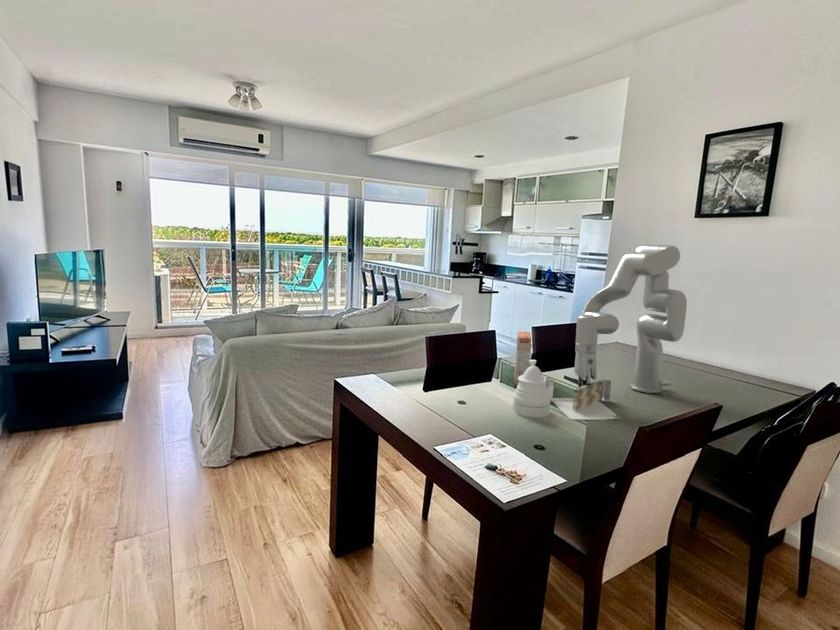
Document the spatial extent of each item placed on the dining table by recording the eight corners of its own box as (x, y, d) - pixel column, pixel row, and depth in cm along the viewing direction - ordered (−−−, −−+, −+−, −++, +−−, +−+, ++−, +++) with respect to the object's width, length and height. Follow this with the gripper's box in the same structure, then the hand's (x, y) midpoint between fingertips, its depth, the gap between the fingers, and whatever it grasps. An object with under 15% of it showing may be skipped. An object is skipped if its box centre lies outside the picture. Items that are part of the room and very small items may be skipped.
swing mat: (599, 402, 173) (599, 401, 173) (621, 419, 156) (621, 419, 156) (553, 402, 172) (553, 401, 172) (570, 420, 155) (570, 419, 155)
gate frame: (607, 399, 177) (609, 378, 175) (610, 402, 174) (612, 380, 172) (543, 399, 175) (544, 377, 174) (546, 402, 172) (547, 380, 171)
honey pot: (509, 403, 170) (512, 356, 167) (544, 404, 170) (547, 357, 167) (516, 416, 157) (518, 366, 154) (553, 417, 157) (557, 367, 154)
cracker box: (528, 387, 190) (531, 338, 187) (514, 385, 191) (516, 337, 188) (527, 377, 203) (530, 331, 200) (514, 376, 205) (516, 330, 201)
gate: (599, 397, 176) (600, 379, 175) (603, 398, 175) (604, 380, 174) (572, 408, 163) (573, 389, 162) (576, 410, 162) (577, 390, 161)
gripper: (604, 352, 162) (600, 401, 166) (587, 343, 177) (585, 388, 180) (583, 353, 162) (580, 402, 165) (568, 343, 177) (566, 388, 180)
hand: (582, 394), depth 173 cm, fingers closed
